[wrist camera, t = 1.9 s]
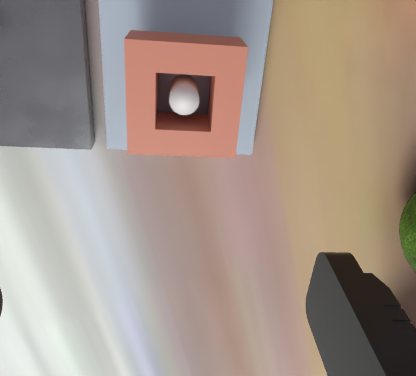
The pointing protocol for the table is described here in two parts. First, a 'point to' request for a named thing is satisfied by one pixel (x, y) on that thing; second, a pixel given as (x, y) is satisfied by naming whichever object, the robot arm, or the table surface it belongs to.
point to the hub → (45, 75)
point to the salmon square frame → (190, 65)
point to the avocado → (409, 231)
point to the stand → (181, 83)
